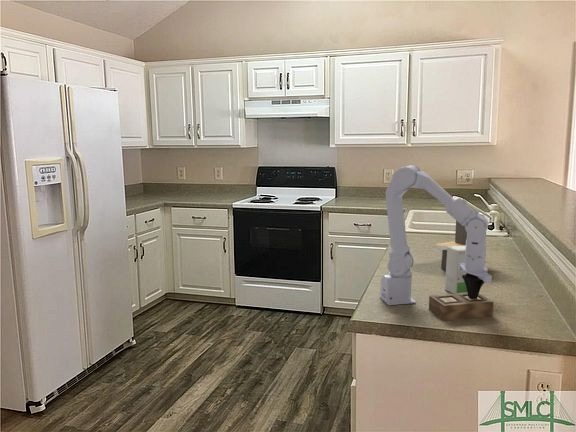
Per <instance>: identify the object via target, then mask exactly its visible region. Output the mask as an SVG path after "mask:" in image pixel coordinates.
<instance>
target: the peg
mask: <svg viewBox="0 0 576 432" xmlns="http://www.w3.org/2000/svg"><path fill="white" fill-rule="evenodd" d="M440 299H442V300H443V301H445V302H453V301H456V300H455V299H453V298H452V297H448V298H440Z"/></svg>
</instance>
